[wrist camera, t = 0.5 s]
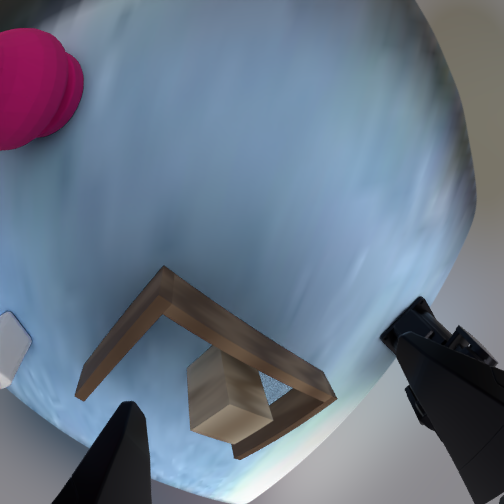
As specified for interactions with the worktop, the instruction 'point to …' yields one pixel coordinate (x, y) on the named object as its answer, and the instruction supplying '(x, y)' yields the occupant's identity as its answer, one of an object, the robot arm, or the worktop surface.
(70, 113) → the pepper mill
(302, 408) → the wooden u-shaped frame
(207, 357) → the maple block
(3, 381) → the salt shaker
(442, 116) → the worktop surface
